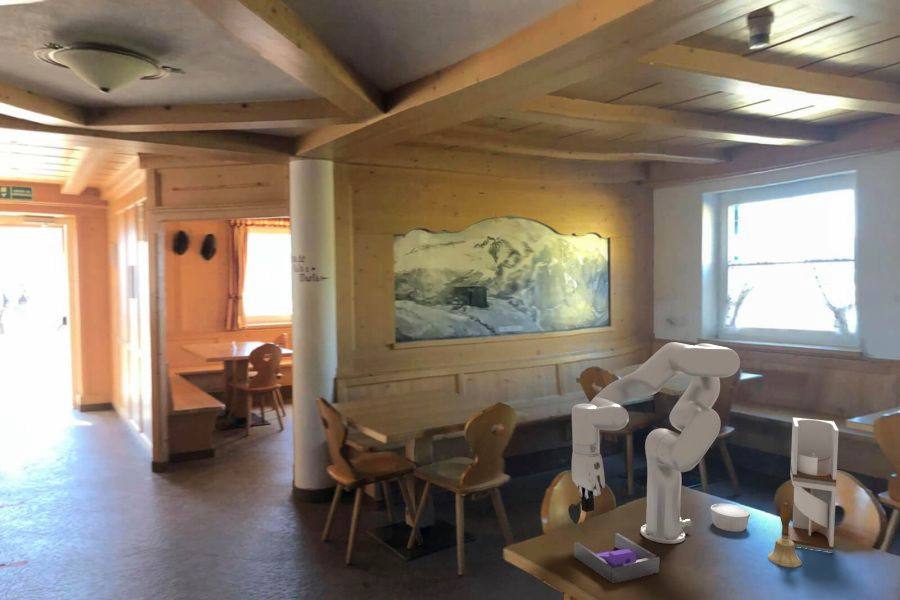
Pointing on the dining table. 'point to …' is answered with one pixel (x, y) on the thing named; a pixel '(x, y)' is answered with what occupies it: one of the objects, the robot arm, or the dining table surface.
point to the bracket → (618, 556)
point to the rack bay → (626, 571)
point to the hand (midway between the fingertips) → (587, 510)
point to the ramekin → (730, 517)
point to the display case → (813, 483)
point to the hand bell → (785, 543)
